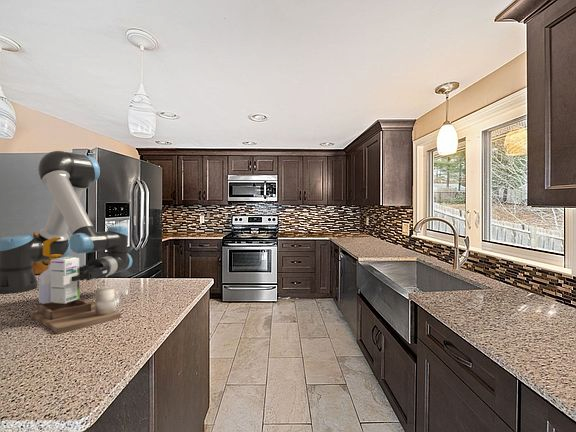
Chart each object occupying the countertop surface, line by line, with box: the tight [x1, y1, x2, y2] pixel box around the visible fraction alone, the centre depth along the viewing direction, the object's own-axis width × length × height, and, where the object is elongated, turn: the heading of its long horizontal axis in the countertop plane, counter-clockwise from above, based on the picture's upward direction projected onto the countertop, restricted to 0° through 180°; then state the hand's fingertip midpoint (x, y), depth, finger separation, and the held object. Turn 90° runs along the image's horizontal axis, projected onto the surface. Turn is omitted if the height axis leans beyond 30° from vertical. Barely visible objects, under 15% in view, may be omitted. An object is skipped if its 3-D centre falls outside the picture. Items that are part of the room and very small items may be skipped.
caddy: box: [28, 286, 122, 335], centre depth 108 cm, size 25×18×10 cm
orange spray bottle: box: [32, 232, 51, 275], centre depth 171 cm, size 10×12×22 cm
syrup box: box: [51, 256, 81, 304], centre depth 107 cm, size 6×6×14 cm
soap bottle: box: [38, 237, 63, 304], centre depth 124 cm, size 9×9×25 cm
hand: (52, 280), depth 102 cm, fingers closed on syrup box, 6 cm apart
